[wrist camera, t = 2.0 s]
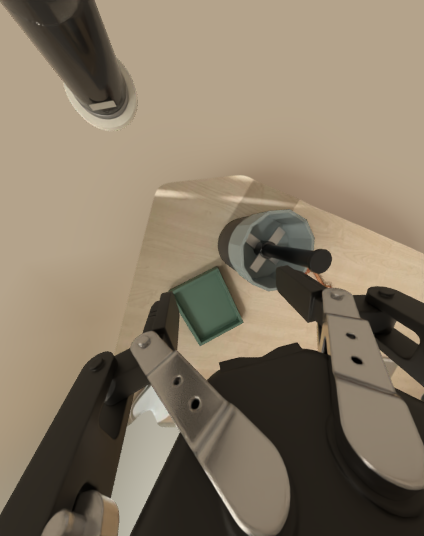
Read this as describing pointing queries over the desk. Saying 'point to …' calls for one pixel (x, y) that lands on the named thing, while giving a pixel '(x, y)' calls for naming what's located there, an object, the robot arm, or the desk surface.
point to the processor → (262, 228)
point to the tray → (207, 306)
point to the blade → (287, 254)
